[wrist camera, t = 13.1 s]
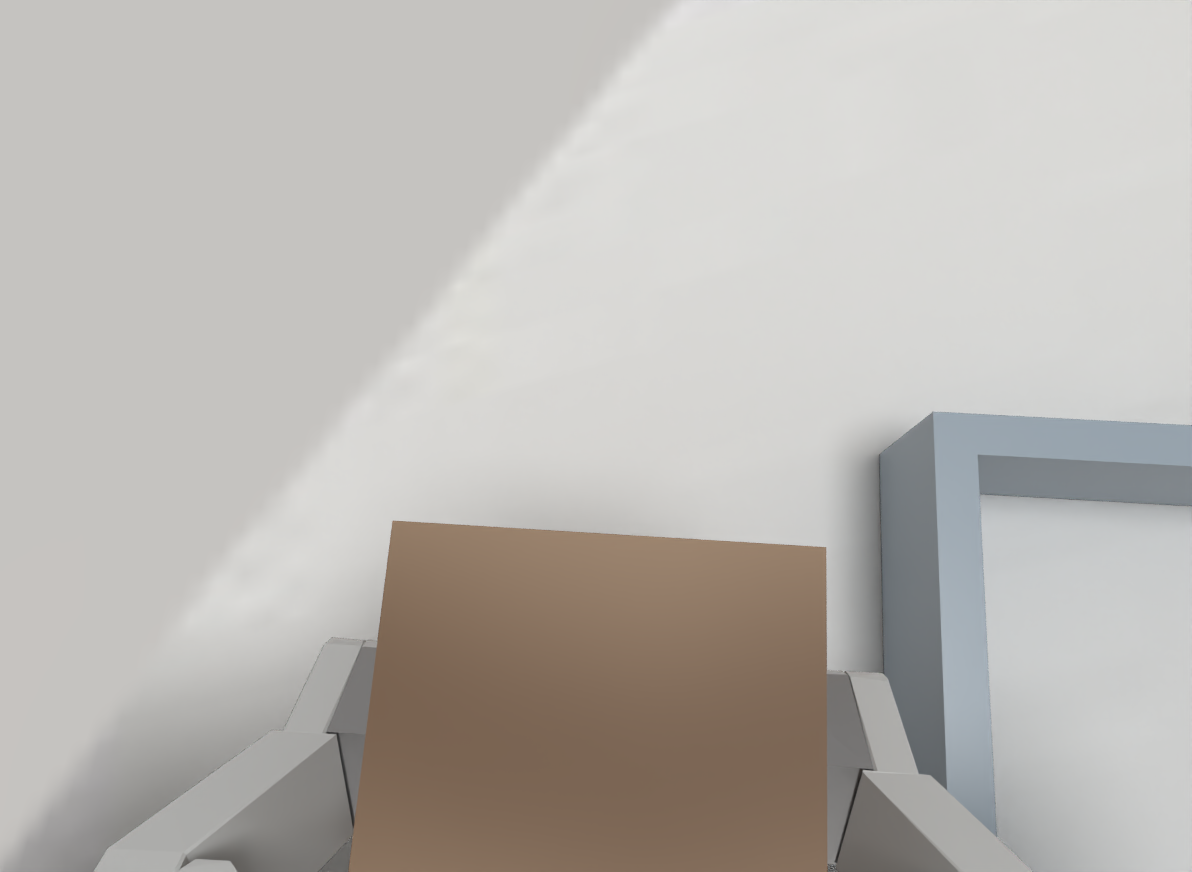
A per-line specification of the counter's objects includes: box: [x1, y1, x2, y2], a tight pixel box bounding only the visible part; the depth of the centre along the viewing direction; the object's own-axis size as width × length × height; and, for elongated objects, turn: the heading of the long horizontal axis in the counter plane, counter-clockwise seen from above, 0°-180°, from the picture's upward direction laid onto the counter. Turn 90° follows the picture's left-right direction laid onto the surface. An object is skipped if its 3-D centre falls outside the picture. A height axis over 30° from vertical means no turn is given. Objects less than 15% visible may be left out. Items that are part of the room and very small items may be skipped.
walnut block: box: [348, 521, 828, 872], centre depth 12 cm, size 4×4×8 cm
